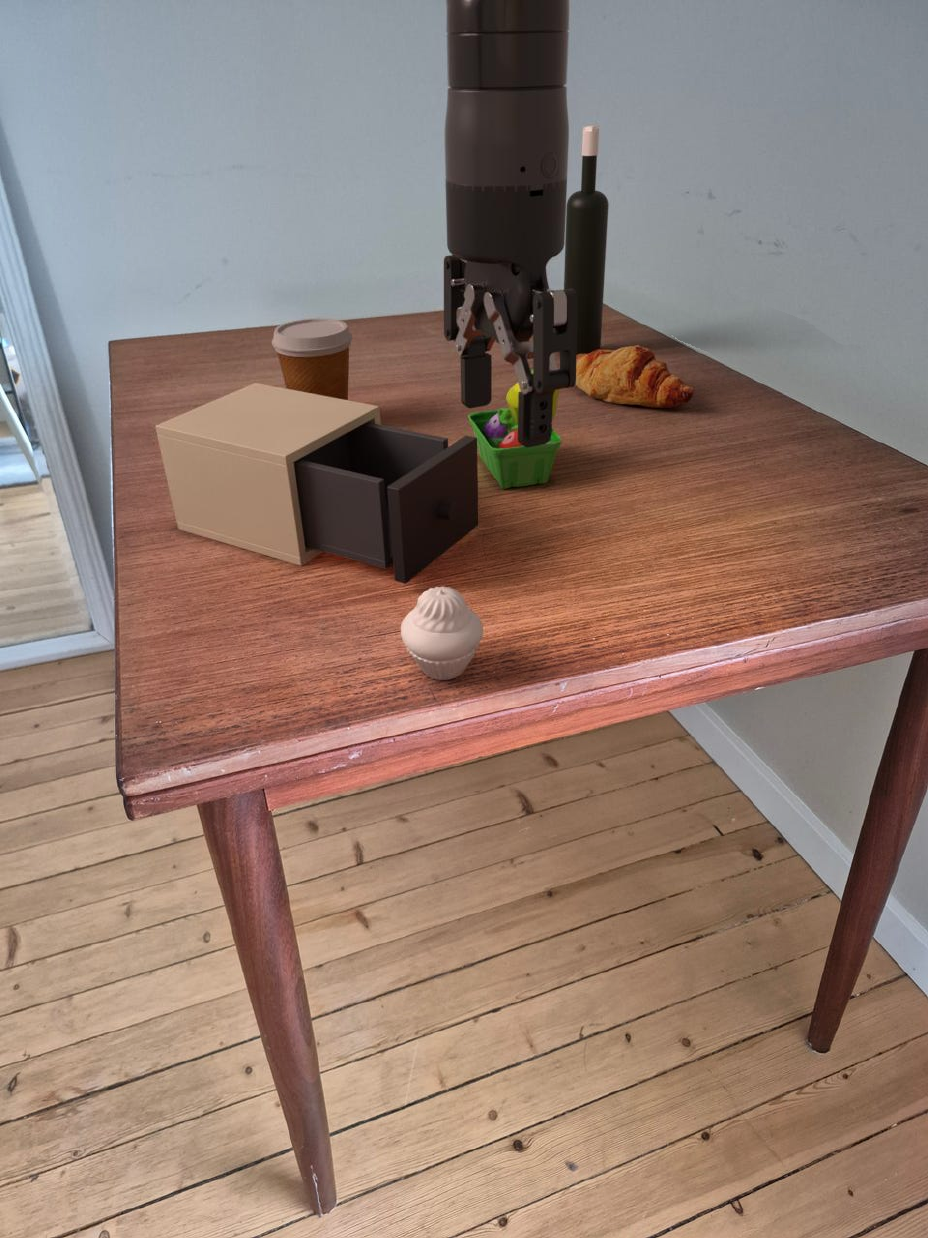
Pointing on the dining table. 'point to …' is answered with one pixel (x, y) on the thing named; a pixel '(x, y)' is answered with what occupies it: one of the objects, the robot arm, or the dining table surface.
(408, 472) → the pulled-out nightstand drawer
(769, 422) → the dining table surface
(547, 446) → the fruit basket
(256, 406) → the cabinet
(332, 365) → the disposable coffee cup
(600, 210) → the wine bottle
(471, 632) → the muffin
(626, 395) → the croissant
